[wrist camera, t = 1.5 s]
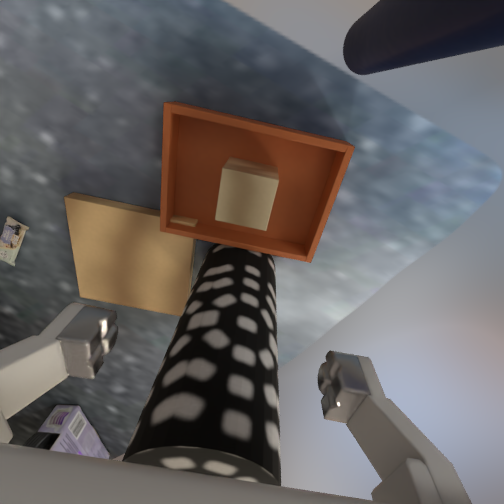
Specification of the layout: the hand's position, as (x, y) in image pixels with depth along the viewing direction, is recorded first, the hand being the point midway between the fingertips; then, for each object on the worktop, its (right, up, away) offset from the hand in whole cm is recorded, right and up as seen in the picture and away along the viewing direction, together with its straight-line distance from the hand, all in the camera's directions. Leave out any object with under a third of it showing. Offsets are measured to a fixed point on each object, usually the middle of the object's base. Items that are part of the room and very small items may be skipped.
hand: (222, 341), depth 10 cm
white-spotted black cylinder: (0, +2, +21) cm, 21 cm away
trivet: (-12, +3, +21) cm, 24 cm away
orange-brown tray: (+1, +10, +16) cm, 19 cm away
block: (+1, +10, +15) cm, 18 cm away
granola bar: (-26, +5, +21) cm, 34 cm away
